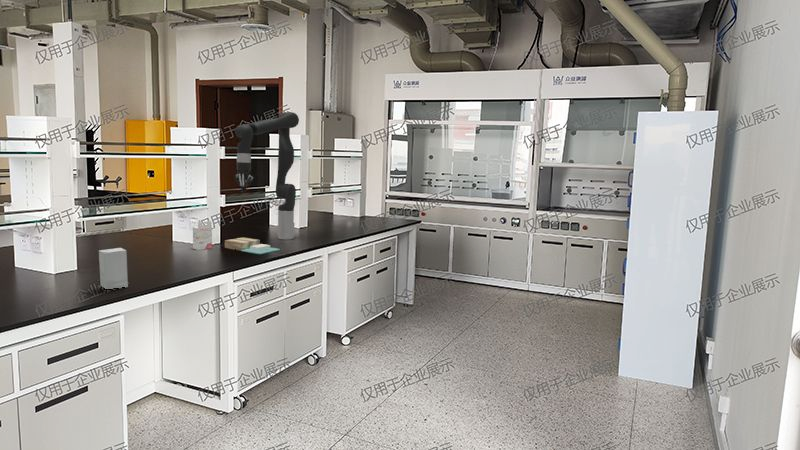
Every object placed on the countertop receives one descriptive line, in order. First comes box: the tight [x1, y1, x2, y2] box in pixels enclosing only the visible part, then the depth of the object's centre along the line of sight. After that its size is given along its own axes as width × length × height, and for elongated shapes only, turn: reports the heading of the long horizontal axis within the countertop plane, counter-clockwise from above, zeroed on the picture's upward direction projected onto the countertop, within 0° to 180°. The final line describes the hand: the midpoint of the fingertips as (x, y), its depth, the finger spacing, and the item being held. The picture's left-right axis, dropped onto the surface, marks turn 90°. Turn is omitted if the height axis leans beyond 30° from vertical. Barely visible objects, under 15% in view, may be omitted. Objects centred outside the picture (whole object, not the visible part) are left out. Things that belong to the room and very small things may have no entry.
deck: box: [224, 236, 261, 251], centre depth 303 cm, size 14×12×4 cm
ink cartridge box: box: [192, 220, 213, 251], centre depth 294 cm, size 9×5×15 cm, turn 143°
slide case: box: [250, 243, 271, 251], centre depth 297 cm, size 9×6×2 cm, turn 153°
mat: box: [240, 246, 281, 255], centre depth 297 cm, size 16×13×1 cm
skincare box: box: [98, 247, 129, 290], centre depth 211 cm, size 8×6×15 cm
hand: (243, 192), depth 311 cm, fingers closed
